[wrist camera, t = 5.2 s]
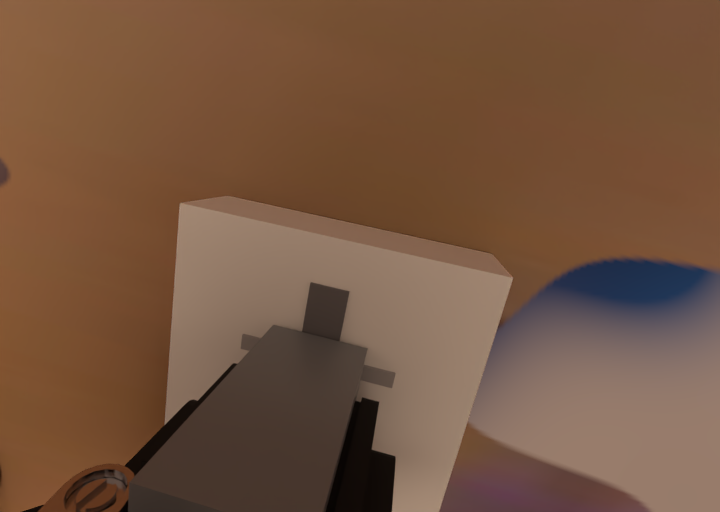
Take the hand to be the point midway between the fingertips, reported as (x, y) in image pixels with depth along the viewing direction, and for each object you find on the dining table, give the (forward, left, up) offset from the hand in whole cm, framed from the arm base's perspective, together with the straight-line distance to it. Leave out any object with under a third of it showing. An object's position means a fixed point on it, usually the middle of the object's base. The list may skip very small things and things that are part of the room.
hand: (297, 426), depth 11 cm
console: (0, +7, -4) cm, 9 cm away
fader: (0, 0, -1) cm, 1 cm away
